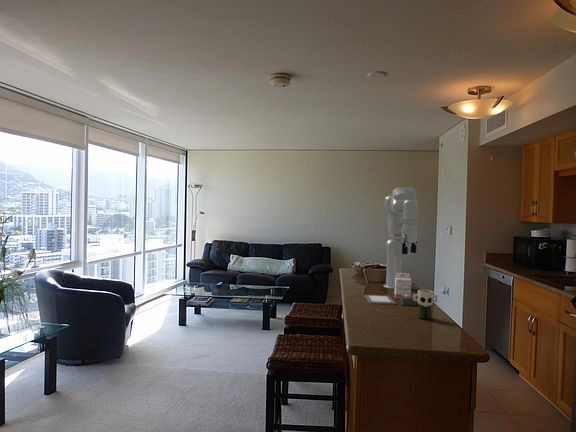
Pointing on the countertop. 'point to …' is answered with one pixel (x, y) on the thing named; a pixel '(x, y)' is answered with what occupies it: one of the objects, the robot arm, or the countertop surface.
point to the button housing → (407, 301)
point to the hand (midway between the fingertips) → (409, 253)
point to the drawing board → (379, 299)
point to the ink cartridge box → (402, 285)
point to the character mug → (425, 303)
